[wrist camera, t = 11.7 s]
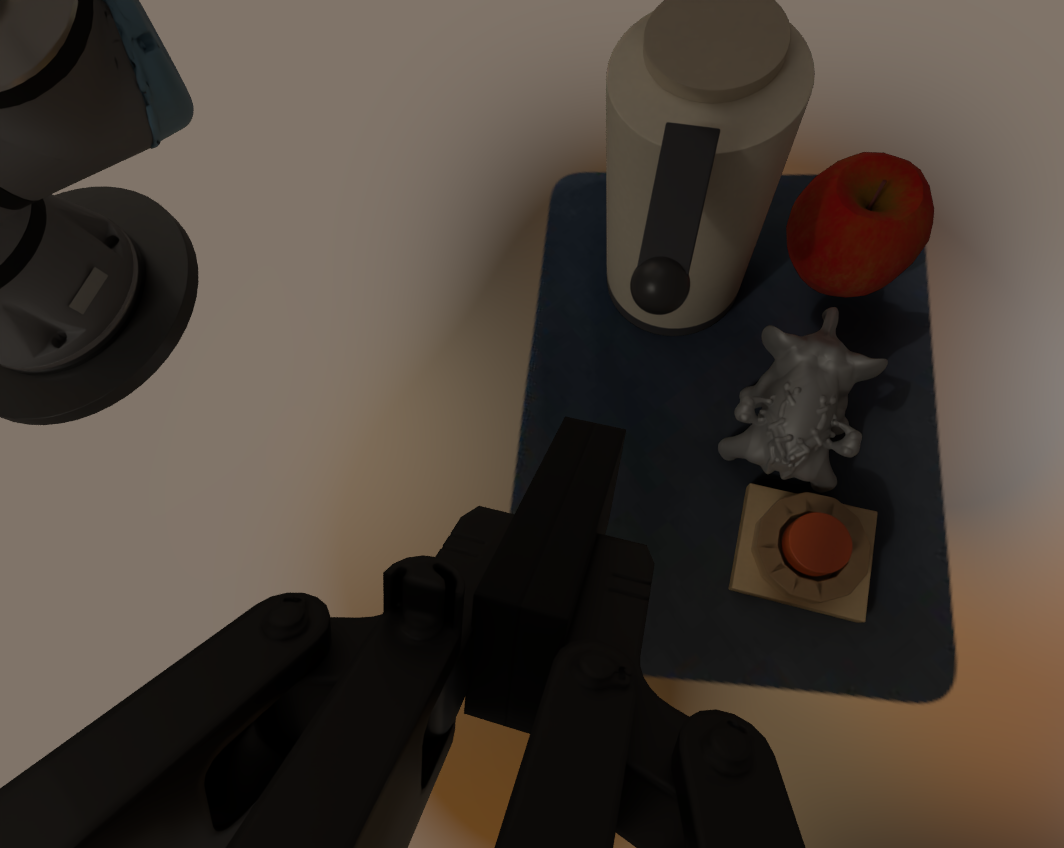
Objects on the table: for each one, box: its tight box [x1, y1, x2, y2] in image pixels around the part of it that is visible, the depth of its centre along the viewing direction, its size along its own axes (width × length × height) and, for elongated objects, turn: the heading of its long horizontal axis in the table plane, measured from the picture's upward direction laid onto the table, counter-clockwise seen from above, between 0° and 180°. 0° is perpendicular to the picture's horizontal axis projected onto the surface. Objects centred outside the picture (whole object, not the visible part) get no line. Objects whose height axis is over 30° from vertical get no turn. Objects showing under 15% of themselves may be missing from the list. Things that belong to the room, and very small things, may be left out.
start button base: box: [729, 483, 877, 623], centre depth 41 cm, size 8×7×3 cm
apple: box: [786, 152, 934, 298], centre depth 43 cm, size 9×8×11 cm
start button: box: [782, 512, 853, 576], centre depth 39 cm, size 4×4×2 cm
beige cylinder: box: [606, 0, 815, 336], centre depth 40 cm, size 10×10×20 cm
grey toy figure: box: [718, 307, 888, 493], centre depth 42 cm, size 9×12×8 cm
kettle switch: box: [630, 122, 720, 315], centre depth 30 cm, size 3×8×3 cm
